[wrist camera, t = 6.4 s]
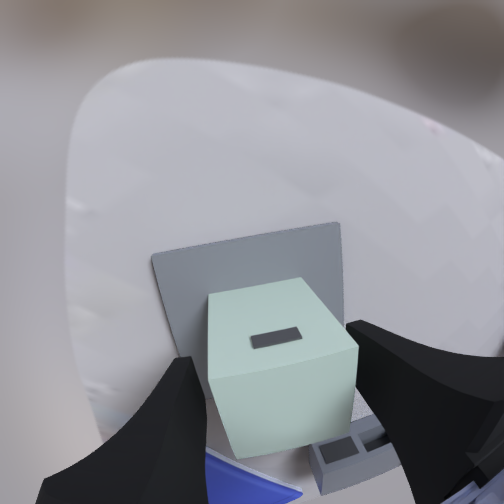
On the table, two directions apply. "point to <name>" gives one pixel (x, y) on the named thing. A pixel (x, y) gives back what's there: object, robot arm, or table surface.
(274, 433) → the block
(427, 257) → the table surface
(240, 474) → the blue book
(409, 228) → the table surface
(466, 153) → the table surface
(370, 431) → the power strip
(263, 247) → the mat
